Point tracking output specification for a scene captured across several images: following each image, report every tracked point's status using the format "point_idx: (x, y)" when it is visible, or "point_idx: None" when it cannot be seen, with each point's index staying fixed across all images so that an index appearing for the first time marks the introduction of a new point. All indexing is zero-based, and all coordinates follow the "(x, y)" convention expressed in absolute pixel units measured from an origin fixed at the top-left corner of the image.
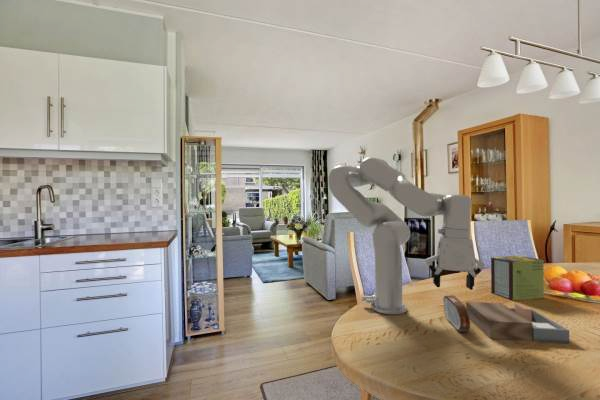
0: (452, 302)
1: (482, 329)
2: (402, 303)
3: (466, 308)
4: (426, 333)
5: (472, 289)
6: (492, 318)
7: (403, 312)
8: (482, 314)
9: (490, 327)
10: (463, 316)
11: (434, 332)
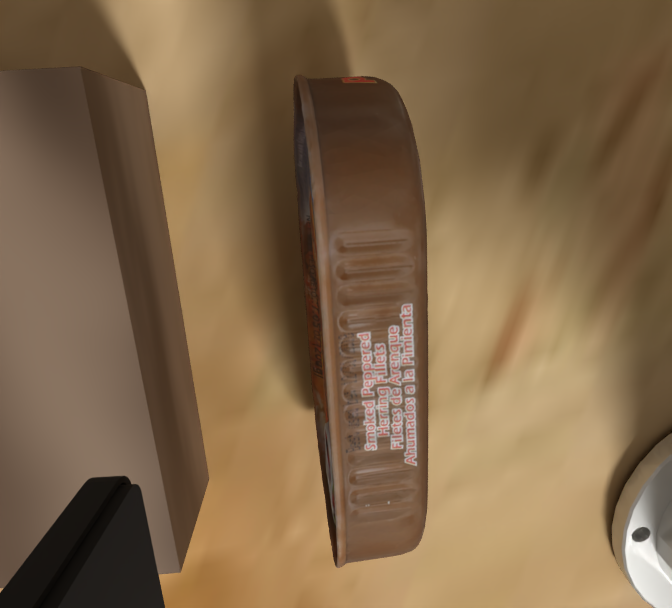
0: (425, 312)
1: (162, 223)
2: (634, 576)
3: (194, 519)
4: (624, 94)
5: (93, 478)
6: (34, 155)
7: (669, 439)
8: (112, 259)
9: (105, 76)
10: (357, 86)
11: (552, 128)
